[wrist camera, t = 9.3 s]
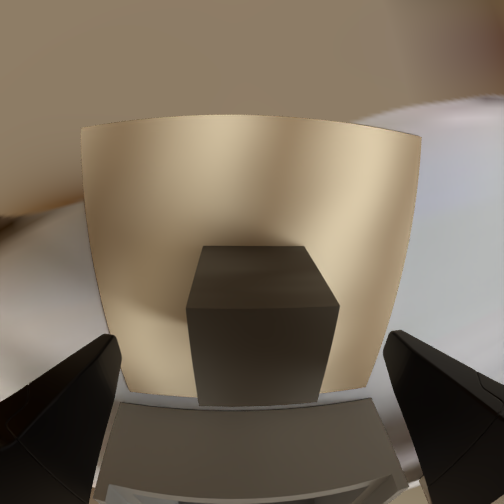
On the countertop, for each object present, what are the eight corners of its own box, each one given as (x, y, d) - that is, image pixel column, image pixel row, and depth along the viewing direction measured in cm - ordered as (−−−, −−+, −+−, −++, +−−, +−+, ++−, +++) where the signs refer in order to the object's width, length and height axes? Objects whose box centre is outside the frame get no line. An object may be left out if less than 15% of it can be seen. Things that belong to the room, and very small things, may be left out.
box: (371, 397, 16) (409, 486, 9) (324, 482, 21) (336, 537, 15) (120, 402, 15) (92, 498, 8) (165, 485, 20) (159, 543, 14)
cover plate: (411, 136, 11) (497, 145, 6) (361, 378, 16) (391, 443, 11) (89, 128, 10) (7, 130, 5) (132, 382, 15) (110, 452, 10)
